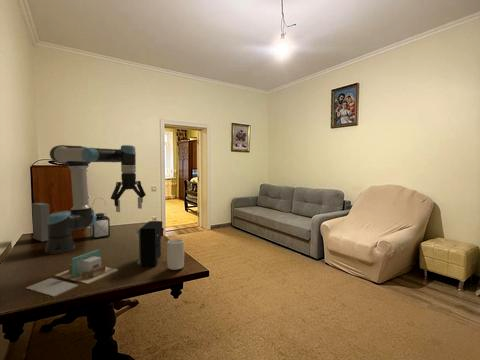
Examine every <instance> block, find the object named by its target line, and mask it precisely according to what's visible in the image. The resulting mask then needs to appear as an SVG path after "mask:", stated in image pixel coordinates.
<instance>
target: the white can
mask: <svg viewBox="0 0 480 360" xmlns="http://www.w3.org/2000/svg"><path fill="white" fill-rule="evenodd" d="M184 243H185V242H184V240H183V239H180V238H173V239H169V240H168V241H167V242H166V244H167V245H166V261H167V264H166V265H167V269H169V270H172V271H175V270H180V269H182V268H184V266H185V265H184V264H185V244H184Z"/></svg>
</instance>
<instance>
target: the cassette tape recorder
mask: <svg viewBox="0 0 480 360" xmlns="http://www.w3.org/2000/svg"><path fill="white" fill-rule="evenodd" d="M31 210H32V213H31V214H32V228H33V229H32V230H33V231H32V234H33V236H32V237H33V240H37V241H40V242H41V243H42V242H48V224H47V219H48V216H49V215H50V214H51V213H50V211H51V210H50V204H49V203H45V202H33V203H31Z"/></svg>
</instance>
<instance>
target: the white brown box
mask: <svg viewBox="0 0 480 360" xmlns="http://www.w3.org/2000/svg"><path fill="white" fill-rule="evenodd" d="M101 265H102V257H101V256H100V257H95V255H91V256H89V257H86V258H83V259H80V260H77V267H78V274H81V275H82V272H89V277H91V270H92V269H94V268H96V267H99V266H101Z"/></svg>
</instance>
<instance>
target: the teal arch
mask: <svg viewBox="0 0 480 360" xmlns="http://www.w3.org/2000/svg"><path fill="white" fill-rule="evenodd" d="M89 256H95V257H100V258H101V249H95V250H91V251H89V252H86V253H83V254H81V255H77V256H74V257H72V258H71V264H72V277H78V267H77V260H80V259H83V258H86V257H89Z"/></svg>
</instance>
